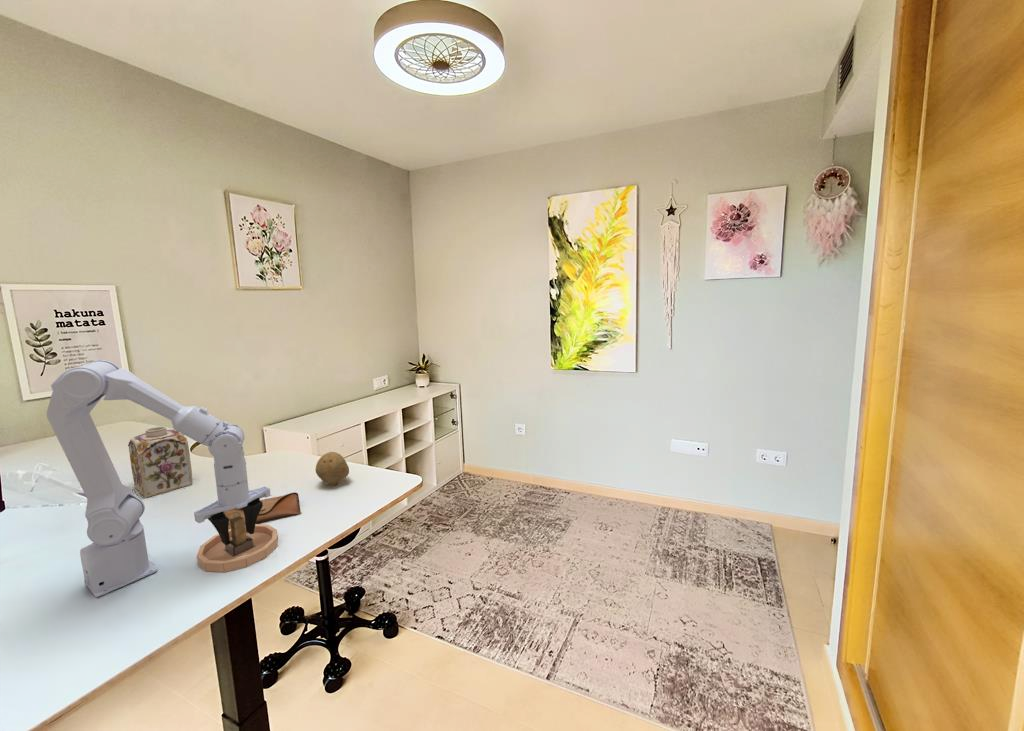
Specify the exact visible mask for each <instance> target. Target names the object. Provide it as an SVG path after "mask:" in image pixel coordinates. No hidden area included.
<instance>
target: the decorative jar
mask: <svg viewBox="0 0 1024 731" xmlns="http://www.w3.org/2000/svg"><path fill="white" fill-rule="evenodd" d="M187 438H188V437H187V436H186V435H184V434H182V433H180V432H178V431H176V430H174V429H167V427H166V426H154V427H150V428H147V429H145V432H144V433H141V434H138V435H135V436H134V437H132V438H130V440H129V442H128V445H127V446H128V452H129V458H130V459H129V460H130V467H131V473H132V479H133V480H132V481H133V485H134V488H136V489H137V491H138V492H139V493H140V494H141V495H142V496H143V497H144V498H146V499H147V498H151V497H153V496H157V495H161V494H164V493H168V492H171V491H175V490H178V489H179V490H180V489H182V488H186V487H188V486H192V485H193V481H194V480H193V470H192V462H191V454H190V446H189V441H188V439H187Z"/></svg>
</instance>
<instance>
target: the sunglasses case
mask: <svg viewBox="0 0 1024 731" xmlns="http://www.w3.org/2000/svg"><path fill="white" fill-rule="evenodd" d="M299 498H300V497H299V493H298V492H290V493H287V494H283V495H279V496H274V497H271V498H270V497H269V498H264V499H260V501H261V502H262V503H263V507H262V509H261V510H260V512H259V515H258V517H257V520H256V524H264V523H269V522H273V521H277V520H281V519H285V518H290V517H294V516H295V517H296V516H298V515H301V514H302V511H301V505H300V499H299ZM224 514H225V516H226V517H227V518H229V526H228V530H229V529H231V525H230V519H233V518H235V517H238V516H241V517H243V518H244V523H245V516H244V511H243V508H240V509H237V508H235V509H231V510H229V511H226V512H224Z"/></svg>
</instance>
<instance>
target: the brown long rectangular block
mask: <svg viewBox="0 0 1024 731" xmlns="http://www.w3.org/2000/svg"><path fill="white" fill-rule="evenodd" d="M230 525H231V534H232V542H233V546H237V545H239V544H241V543H244V542H246V532H245V523H244V518H243V517H241V516H238V517H235V518H233V519H230Z"/></svg>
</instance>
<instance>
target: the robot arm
mask: <svg viewBox="0 0 1024 731" xmlns="http://www.w3.org/2000/svg"><path fill="white" fill-rule="evenodd" d="M50 386H51V390H52V393H51V396H50V400H49V403H48V407H47V409H46V418H47V420H48V422H49V424H50V426H51V429H53V432H54V434H55V436H56V438H57V440H58V442H59V444H60V446H61V448H62V451H63V453H64V454H65V457H66V458H67V461H68V463H69V465H70V467H71V469H72V471H73V473H74V475H75V477H76V479H77V481H78V482H79V485H80V487H81V489H82V492H83V493H84V496H85V497H86V500H87V502H86V503H87V504H86V507H85V508H86V509H85V514H84V516H85V518H86V520H87V528H86V535H87V538H88V539H89V540H90V541H91V542H92V543H90V544H88V545H86V546H84V547H82V548H81V549H80V550H79V553H80V554H79V557H80V560H81V566H82V572H83V579H84V581H83V582H84V584H85V585H86V587H87V588H88V589H89V590H90V592H91V593H92V594H93V596H94V597H95V598H99V597H101V596H104V595H106V594H108V593H110V592H113V591H115V590H117V589H120V588H121V587H125V586H126V585H129V584H131V583H134V582H136V581H139V580H141V579H143V578H145V577H147V576H149V575H152V574H154V573H156V572H157V571H158V568H157V567H156V566H155V565H154V563H152V562H151V561H149V555H148V549H147V542H146V536H145V529H144V528H145V527H144V525H143V524H142V522H141V520H140V518H141V517H142V516H143V514H144V513H145V508H146V507H145V503H144V501H143V499H141V498H140V497H138V496H137V495H136V494H134V493H133V490H132V488H131V487H129V486H127V485H125V484H123V483H122V480H121V479H120V477H119V475H118V472H117V470H116V467H115V465H114V463H113V461H112V459H111V457H110V454H109V453H108V450H107V448H106V447H105V444H104V442H103V440H102V437H101V434H99V431H98V429H97V426H96V424H95V423H94V421H93V418H92V416H91V412H92V411H93V409H94V408H95V407H96V405H98V403H99V402H100V401H101V399H102V398H103V397H104V398H103V400H104V401H121V400H122V401H125V400H128V401H131V402H132V403H135V404H137V405H138V406H141V407H143V408H145V409H147V410H149V411H152V412H153V413H155V414H158V415H159V416H161V417H164V418H166V419H168V420H170V421H171V425H172V428H173V429H172V430H176V431H178V432H180V433H182V434H184V436H185V437H186V438H189V439H191V440H194V441H195V442H197V443H199V444H201V445H203V446H205V447H206V446H207V448H208V451H209V454H210V455H211V456H213V467H214V468H213V469H214V477H215V484H216V485H215V486H216V487H215V488H216V493H217V501H214V502H212V503H211V504H209V505H207V506H205V507H203V508H201V509H199V510H196V511H193V516H194V517H193V518H194V521H195V522H196V523H198V524H201V523H204V522H205V521H206V520H207V519H208V520H209V522H210V523H211V524H212V526H213V527H214V528H215V530H216V531H217V534H219V535H220V538H221V540H222V543H224V544H225V545H228V544H230V538H229V531H228V526H229V518H227V517H226V516H225V514H224V512H226V511H229V510H231V509H235V508H237V509H240V508H243V511H244V516H245V526H246V531H247V532H248V533H249V534H253V533H254V529H255V524H256V520H257V517H258V515H259V512H260V510H261V509H262V507H263V503H262V502H261V501H260V500H261V499H263V498H268V497H269V498H270V497H271V488H269V487H268V486H262V487H259V488H255V489H250V490H249V483H248V470H247V463H246V462H247V461H246V458H245V451H244V446H243V444H244V441H245V432H244V430H243V429H242V428H241V427H239V425H238V424H235V423H230V422H228V421H226V420H224V421H222V420H221V419H220V418H217V417H215V416H214V415H212V414H210V413H208V410H209V409H208V408H206V407H204V406H201V407H198V406H196V405H192V406H191V405H190V406H189V405H188V406H183V405H182V404H181V403H179V402H177V401H176V400H174V399H172V398H171V397H169V396H168V395H166V394H165V393H163V392H162V391H160V390H158V389H156V388H155V387H153V386H152V385H151V384H148V383H147V382H145V381H144V380H142V379H141V378H139V377H138V376H136V374H134V373H133V372H131V371H130V370H128V369H127V368H123V367H119V366H118V365H117V364H116V363H114V362H111V361H109V360H103V359H97V360H92V361H89V362H87V363H86V364H83V365H80V366H76V367H72V368H69V369H67V370H65V371H63V372H62V373H61V374H60V375H59V376H58V377H57V378H56V379H55V380H54V381H53V382H52V383H51V384H50Z"/></svg>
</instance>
